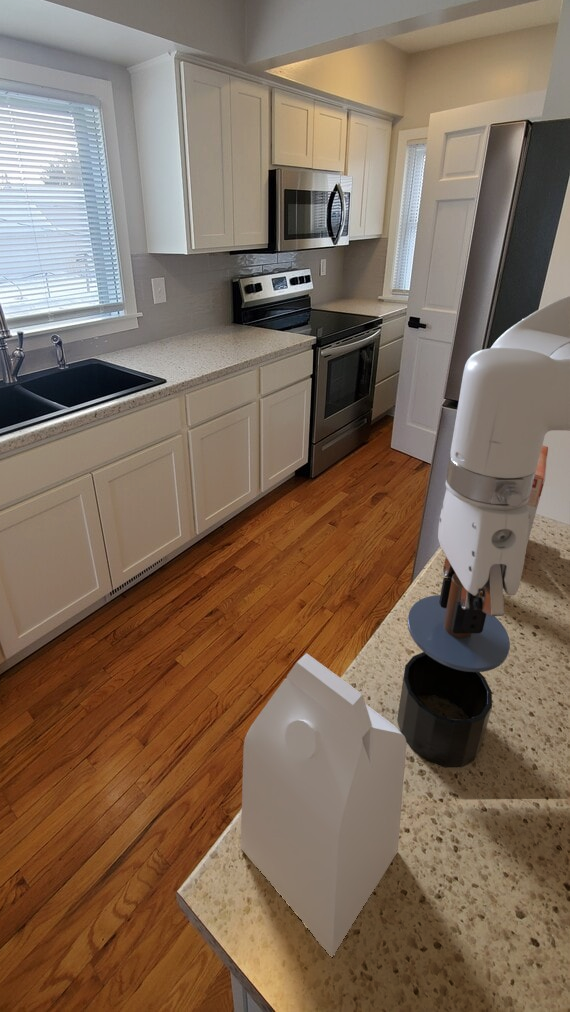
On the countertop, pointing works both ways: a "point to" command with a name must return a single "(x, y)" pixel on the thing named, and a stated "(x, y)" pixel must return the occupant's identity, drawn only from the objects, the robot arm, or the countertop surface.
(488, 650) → the plate lid
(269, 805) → the milk
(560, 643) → the countertop surface
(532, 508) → the cracker box
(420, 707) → the tin
